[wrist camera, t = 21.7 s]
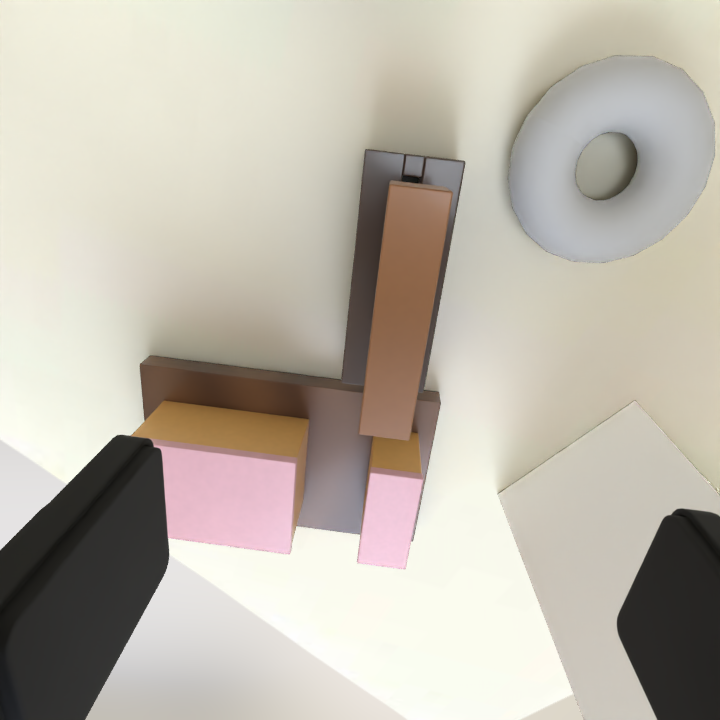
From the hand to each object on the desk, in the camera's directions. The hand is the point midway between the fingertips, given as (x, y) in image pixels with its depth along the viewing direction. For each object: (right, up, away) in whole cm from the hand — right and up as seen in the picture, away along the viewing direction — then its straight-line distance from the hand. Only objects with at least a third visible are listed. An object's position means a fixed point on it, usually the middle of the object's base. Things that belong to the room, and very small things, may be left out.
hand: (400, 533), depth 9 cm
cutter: (+2, +9, +20) cm, 22 cm away
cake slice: (+1, -5, +25) cm, 25 cm away
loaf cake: (-10, -3, +25) cm, 27 cm away
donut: (+12, +14, +18) cm, 26 cm away
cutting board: (-6, -3, +26) cm, 27 cm away
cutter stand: (+1, +9, +20) cm, 22 cm away
